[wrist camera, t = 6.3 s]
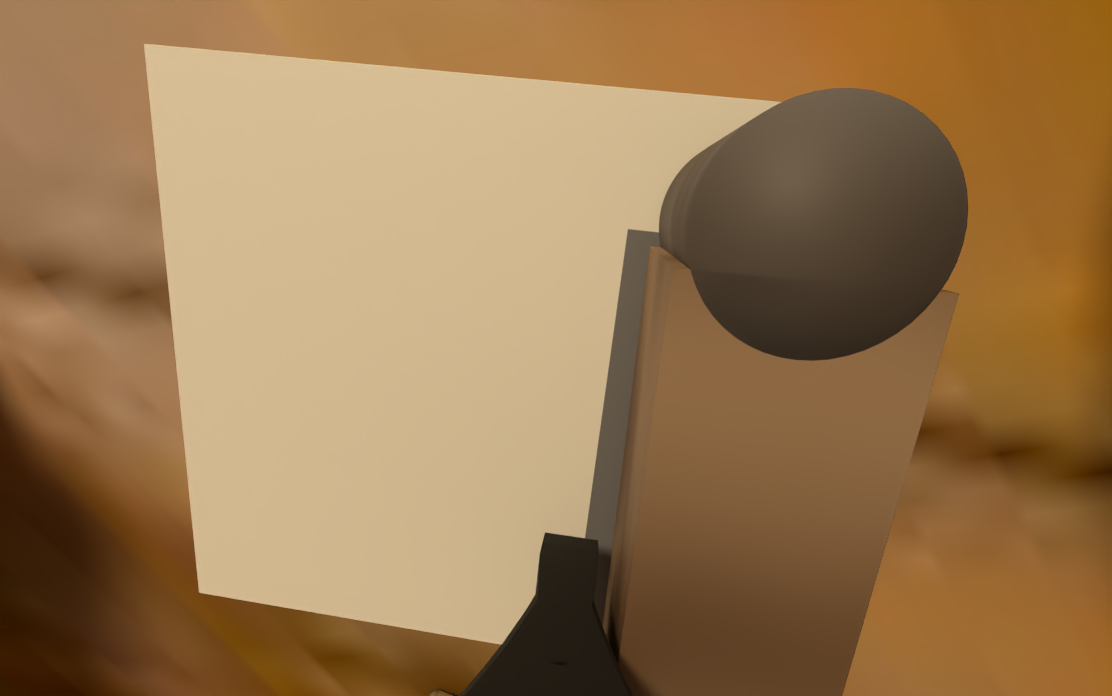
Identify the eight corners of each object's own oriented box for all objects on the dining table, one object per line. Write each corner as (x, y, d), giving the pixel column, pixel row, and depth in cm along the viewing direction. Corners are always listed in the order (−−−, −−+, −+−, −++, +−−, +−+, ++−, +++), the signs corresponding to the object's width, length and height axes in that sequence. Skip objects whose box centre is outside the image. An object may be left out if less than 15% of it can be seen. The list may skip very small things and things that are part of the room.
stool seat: (254, 562, 15) (199, 617, 13) (223, 72, 11) (141, 42, 9) (716, 639, 14) (733, 711, 12) (835, 129, 10) (888, 111, 8)
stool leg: (664, 130, 9) (699, 78, 5) (852, 143, 8) (1017, 97, 5) (594, 691, 12) (587, 884, 8) (728, 711, 11) (776, 919, 8)
